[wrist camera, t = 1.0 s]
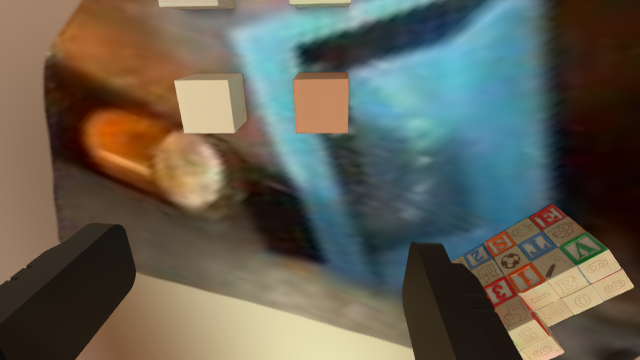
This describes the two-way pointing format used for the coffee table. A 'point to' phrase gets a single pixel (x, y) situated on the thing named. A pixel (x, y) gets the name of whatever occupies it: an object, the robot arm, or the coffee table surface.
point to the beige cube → (197, 4)
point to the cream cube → (211, 102)
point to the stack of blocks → (544, 277)
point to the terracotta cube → (321, 102)
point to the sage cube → (319, 3)
